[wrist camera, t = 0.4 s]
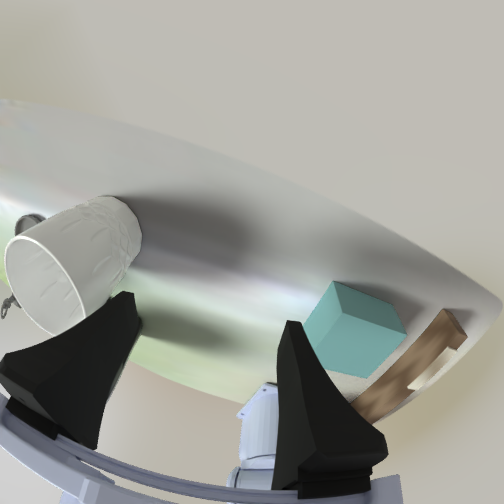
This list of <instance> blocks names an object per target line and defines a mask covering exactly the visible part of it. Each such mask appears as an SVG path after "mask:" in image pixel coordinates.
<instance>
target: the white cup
mask: <svg viewBox="0 0 504 504" xmlns="http://www.w3.org/2000/svg"><path fill="white" fill-rule="evenodd" d="M141 241H142V233H141V229H140V226H139V223H138V219H137V217H136V216H135V215H134V213H133V212H132V211H131V210H130V208H129V207H128V206H127V204H125V203H123V202H121V201H120V200H118V199H116V198H114V197H112V196H98V197H96V198H94V199H91V200H89V201H87V202H85V203H83V204H79V205H76V206H73V207H71V208H69V209H67V210H65V211H62V212H60V213H58V214H56V215H54V216H52V217H50V218H48V219H46V220H44V221H42V222H40V223H38V224H36V225H35V226H33V227H31V228H29V229H27V230H26V231H24V232H22V233H20V234H19V235H17V236H15V237H13V238H12V239H11V240H10V241H9V242H8V244H7V246H6V249H5V255H4V264H5V271H6V275H7V279H8V282H9V285H10V287H11V290H12V292H13V294H14V296H15V298H16V299H17V301H18V303H19V304H20V306H21V307H22V309H23V310H24V311H25V313H26V314H27V315H28V316H29V317H30V318H31V319H32V320H33V321H34V322H35V323H36V324H37V325H38V326H39V327H40V328H42V329H43V330H44V331H46V332H47V333H49V334H50V335H52V336H54V337H55V336H57V335H59V334H61V333H63V332H64V331H66V330H68V329H70V328H71V327H73V326H75V325H76V324H78V323H79V322H81V321H82V320H83V319H85V318H86V317H88V316H89V315H91V314H92V313H94V312H95V311H96V310H98V309H99V308H100V307H102V306H103V305H104V304H105V302H106V301H107V300H108V298H109V297H110V296H111V294H112V292H113V291H114V289H115V288H116V286H117V285H118V284H119V282H120V280H121V279H122V277H123V276H124V275H125V273H126V271H127V268H128V267H129V266H130V264H131V263H132V262H133V260H134V259H135V258H136V256H137V255H138V253H139V252H140V250H141Z"/></svg>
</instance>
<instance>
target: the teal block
mask: <svg viewBox="0 0 504 504" xmlns="http://www.w3.org/2000/svg"><path fill="white" fill-rule="evenodd" d="M303 328H304V330H305V333H306V335H307V337H308V339H309V342H310V344H311V346H312V348H313V350H314V352H315V354H316V355H317V357H318V359H319V361H320V363H321V364H322V366H323V368H324V369H327V370H331V371H335V372H339V373H344V374H348V375H352V376H357V377H362V378H366V379H367V378H368V377H369V376H370V375H371V374H372V373H373V372H374V371H375V370H376V369H377V368H378V367H379V366H380V365H381V364H382V363H383V362H384V361H385V359H386V358H387V357H388V356H389V355H390V354H391V353H392V352H393V351H394V350H395V349H396V348H397V347H398V345H399V344H400V343H401V342H402V341H403V340H404V339H405V337H406V336H407V333H406V331H405V329H404V327H403V325H402V323H401V321H400V319H399V317H398V315H397V313H396V311H395V309H394V307H393V305H392V304H389V303H387V302H384V301H382V300H379V299H377V298H374V297H372V296H369V295H367V294H364V293H362V292H359V291H357V290H355V289H352V288H350V287H347V286H345V285H342V284H340V283H337V282H335V281H332V283H331V284H330V286H329V287H328V289H327V291H326V292H325V294H324V295H323V297H322V298H321V300H320V301H319V303H318V304H317V306H316V307H315V309H314V310H313V312H312V313H311V315H310V316H309V318H308V319H307V320H306V322H305V323H304V325H303Z"/></svg>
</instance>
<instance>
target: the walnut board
mask: <svg viewBox="0 0 504 504" xmlns="http://www.w3.org/2000/svg"><path fill="white" fill-rule="evenodd" d="M467 337H468V336H467V335H466V333H465V332H464V330H463V329H462V327H461V326H460V324H459V323H458V321H457V320H456V318H455V317H454V316H453V314H452V313H450V312H448V311H446V310H444V309H442V310H441V312H440V313H439V314H438V315H437V317H436V318H435V319H434V320H433V322H432V323H431V324H430V325H429V326H428V327H427V329H426V330H425V331H424V332H423V333H422V334H421V336H420V337H419V338H418V339H417V340H416V341H415V342H414V343H413V345H412V346H411V347H410V348H409V349H408V350H407V351H406V352H405V353H404V354H403V355H402V356H401V357H400V358H399V359H398V360H397V361H396V362H395V363H394V364H393V365H392V366H391V367H390V368H389V369H388V370H387V371H386V372H385V373H384V374H383V375H382V376H381V377H380V378H379V379H378V380H377V381H376V382H375V383H373V384H372V385H371V386H370V387H369V388H368V389H367V390H366V391H365V392H363V393H362V394H361V395H360V396H359V397H358V398H356V399H355V400H354V401H353V402H352V403H350V405H351V406H352V407H353V408H354V409H355V410H356V411H357V412H358V413H359V414H360V415H361V416H362V417H363V418H364V419H365V420H366V421H367V422H369V423H370V424H371V425H372V424H373V423H375V422H376V421H378V420H379V419H380V418H382V417H383V416H384V415H386V414H387V413H388V412H389V411H391V410H392V409H393V408H395V407H396V406H397V405H398V404H400V403H401V402H402V401H403V400H404V399H406V398H407V397H408V396H409V395H410V394H412V393H413V392H414V391H415V390H419V389H420V388H421V387H422V386H423V385H424V384H425V383H426V382H427V381H428V380H430V379H431V378H432V377H433V376H434V375H435V374H436V373H437V372H438V371H439V370H440V369H441V368H442V367H443V366H444V365H445V364H446V363H447V362H448V361H449V360H450V359H451V358H452V357H453V356H454V355H455V353H456V352H457V349H458V348H459V347H460V345H461V344H462V343H463V342H464V341H465V340H466V339H467Z"/></svg>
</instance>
